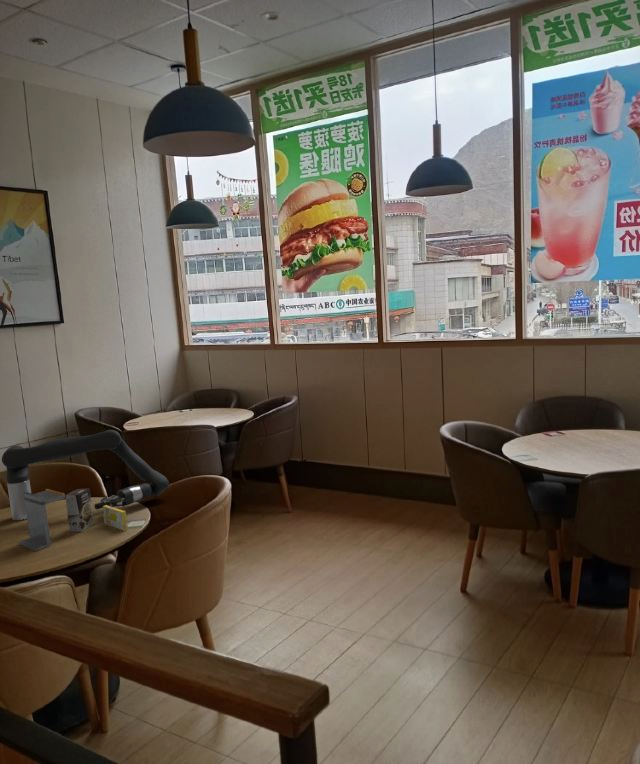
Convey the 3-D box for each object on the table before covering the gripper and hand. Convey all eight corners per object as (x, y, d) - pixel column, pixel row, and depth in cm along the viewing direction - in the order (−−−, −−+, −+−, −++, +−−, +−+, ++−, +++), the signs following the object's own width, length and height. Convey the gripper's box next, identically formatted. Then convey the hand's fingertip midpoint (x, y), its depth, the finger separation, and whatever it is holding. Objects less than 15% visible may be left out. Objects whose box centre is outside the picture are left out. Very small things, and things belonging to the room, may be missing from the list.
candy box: (128, 530, 257) (126, 511, 256) (123, 531, 256) (121, 512, 255) (108, 522, 268) (106, 504, 267) (104, 524, 267) (101, 505, 266)
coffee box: (82, 531, 259) (78, 494, 257) (69, 531, 260) (64, 494, 258) (94, 523, 268) (90, 488, 266) (81, 523, 269) (77, 488, 267)
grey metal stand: (18, 544, 250) (11, 496, 247) (52, 532, 261) (46, 486, 258) (35, 551, 241) (28, 502, 238) (70, 538, 252) (64, 491, 250)
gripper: (120, 485, 286) (86, 496, 272) (137, 489, 277) (102, 500, 264) (121, 501, 287) (88, 512, 273) (139, 505, 278) (104, 517, 265)
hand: (95, 507), depth 269 cm, fingers closed
